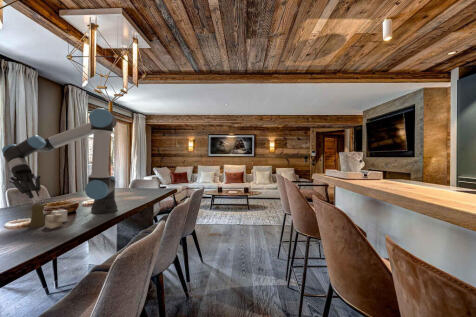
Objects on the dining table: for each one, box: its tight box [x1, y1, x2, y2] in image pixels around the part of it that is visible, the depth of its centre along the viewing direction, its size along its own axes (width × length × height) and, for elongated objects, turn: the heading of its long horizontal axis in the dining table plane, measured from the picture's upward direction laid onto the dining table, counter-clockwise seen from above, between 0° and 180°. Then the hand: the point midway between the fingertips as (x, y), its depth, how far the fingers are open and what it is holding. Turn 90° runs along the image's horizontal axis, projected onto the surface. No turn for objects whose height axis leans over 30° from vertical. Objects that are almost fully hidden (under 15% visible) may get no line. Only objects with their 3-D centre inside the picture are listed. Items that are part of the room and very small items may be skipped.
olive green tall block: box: [29, 203, 45, 228], centre depth 117 cm, size 6×6×11 cm
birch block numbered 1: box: [44, 213, 63, 229], centre depth 116 cm, size 5×5×6 cm
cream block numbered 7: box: [50, 209, 68, 223], centre depth 125 cm, size 5×5×6 cm
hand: (37, 202), depth 117 cm, fingers closed
